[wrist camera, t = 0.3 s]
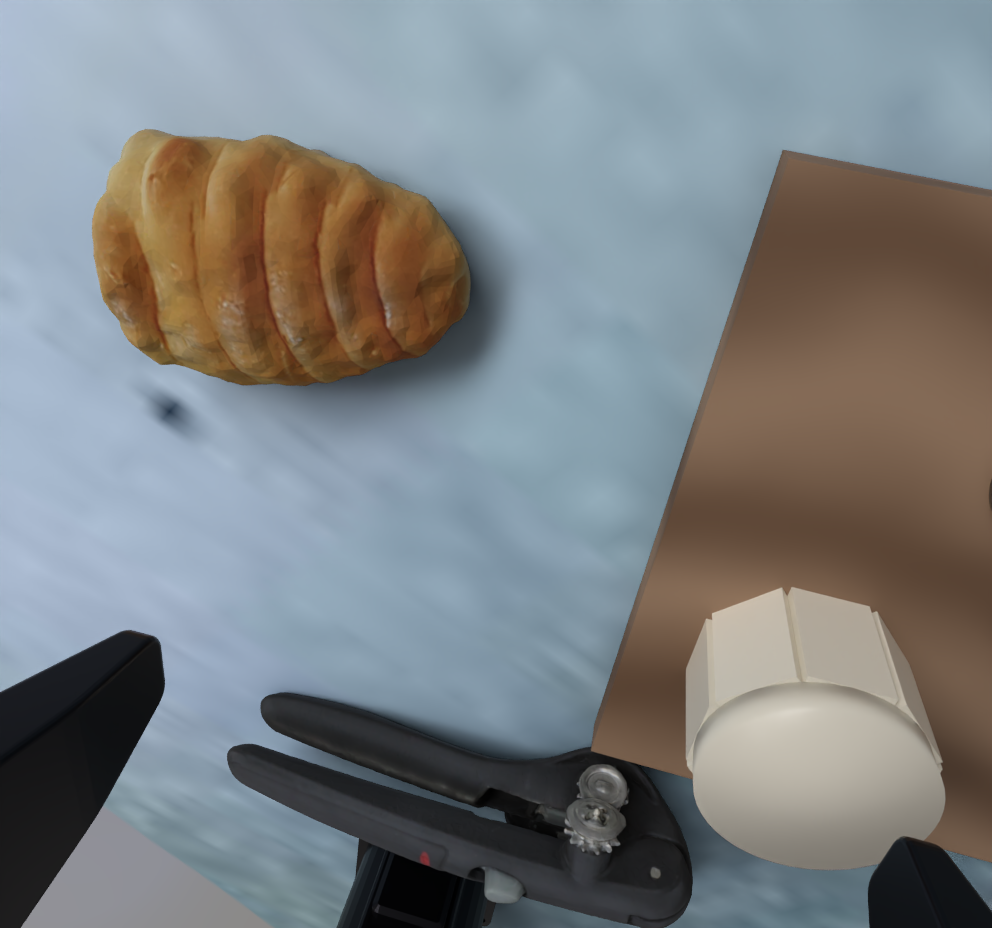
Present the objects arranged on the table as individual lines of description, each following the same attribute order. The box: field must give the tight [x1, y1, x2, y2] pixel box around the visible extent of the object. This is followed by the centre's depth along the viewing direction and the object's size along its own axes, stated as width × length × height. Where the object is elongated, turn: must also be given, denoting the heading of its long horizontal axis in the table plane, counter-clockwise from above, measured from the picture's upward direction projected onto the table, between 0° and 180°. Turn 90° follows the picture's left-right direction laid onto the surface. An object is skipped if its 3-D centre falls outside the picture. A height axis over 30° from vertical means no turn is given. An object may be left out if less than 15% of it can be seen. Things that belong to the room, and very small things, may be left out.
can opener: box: [227, 693, 693, 928], centre depth 28 cm, size 18×7×6 cm, turn 82°
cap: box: [686, 587, 945, 870], centre depth 22 cm, size 6×6×4 cm
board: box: [591, 150, 992, 863], centre depth 22 cm, size 20×14×1 cm
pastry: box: [92, 129, 471, 386], centre depth 20 cm, size 9×7×4 cm
